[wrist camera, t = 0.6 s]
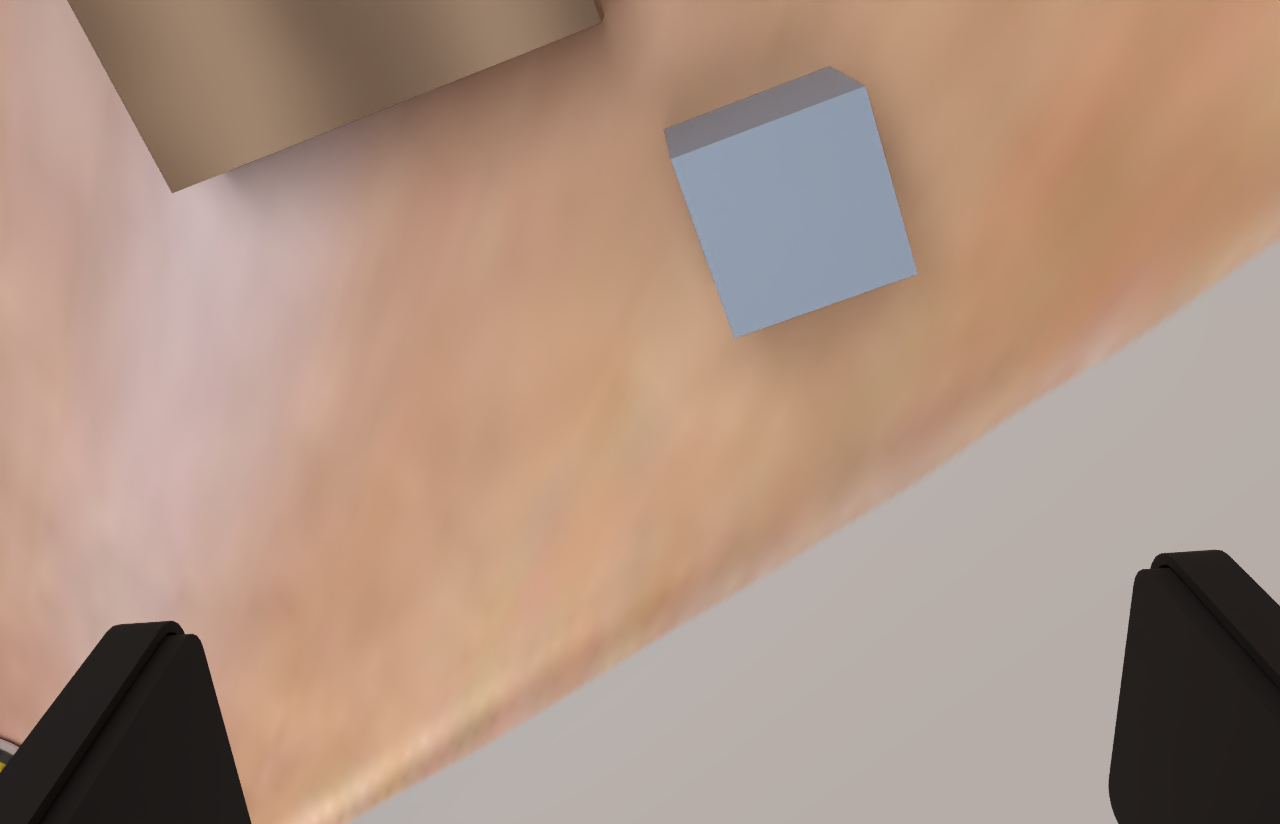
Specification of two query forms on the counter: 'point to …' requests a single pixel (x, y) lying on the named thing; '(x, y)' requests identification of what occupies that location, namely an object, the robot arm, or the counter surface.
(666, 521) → the counter surface
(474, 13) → the walnut block
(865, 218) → the slate cube
